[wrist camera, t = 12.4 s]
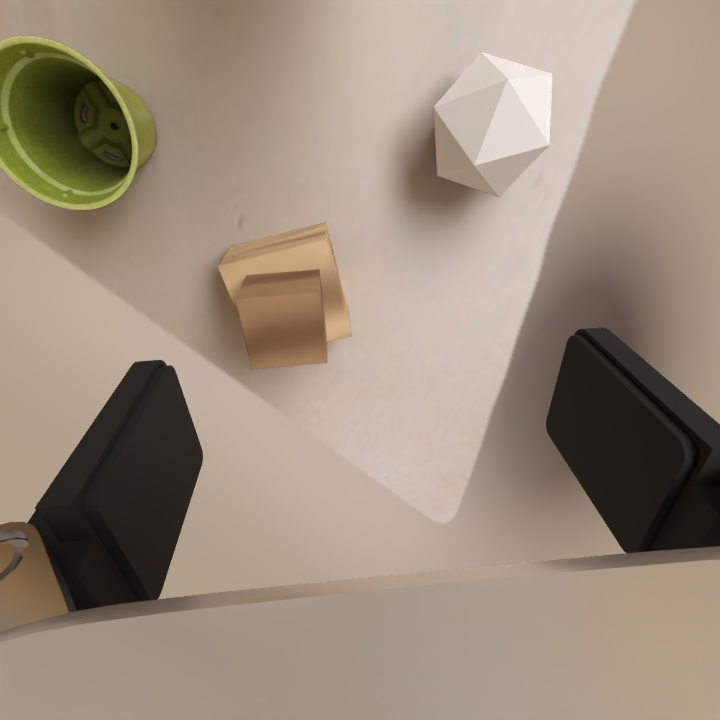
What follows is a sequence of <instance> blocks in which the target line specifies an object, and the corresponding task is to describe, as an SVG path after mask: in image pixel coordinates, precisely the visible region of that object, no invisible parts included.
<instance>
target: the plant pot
mask: <svg viewBox="0 0 720 720" xmlns="http://www.w3.org/2000/svg"><path fill="white" fill-rule="evenodd" d="M110 91H111V92H112V93H111V92H110ZM83 104H86V105H87V106H88V107H87V112H86V123H83V121H82V119H81V109H82V106H83ZM112 123H116V124H117V125H118V129H117V130H114V129H113V128H112V127H111V124H112ZM155 144H156V127H155V123H154V120H153V118H152V116H151V114H150V112H149V110H148V109H147V107H146V105H145V104H144V102H143V101H142V99H141V98H140V97H139V96H138V95H137V94H136V93H135V92H133V91H132V90H131V89H129V88H128V87H126V86H125V85H123V84H121V83H119V82H116V81H114V80H112V79H110V78H108V77H107V76H106V75H105V74H104V73H103V72H102V71H101V70H100V69H99V68H98V67H97V66H96V65H95V64H94V63H92V62H91V61H90V60H88V59H87V58H86V57H84V56H83V55H81V54H80V53H78V52H77V51H75V50H73V49H71V48H69V47H67V46H65V45H63V44H61V43H58V42H55V41H52V40H49V39H46V38H41V37H34V36H16V37H12V38H9V39H5V40H3V41H0V168H1V169H2V170H3V171H4V172H5V173H6V174H7V175H8V176H9V177H10V178H11V179H12V180H13V181H14V182H15V183H17V184H18V185H19V186H20V187H22V188H23V189H24V190H26V191H27V192H29V193H30V194H32V195H33V196H35V197H37V198H39V199H40V200H42V201H44V202H47V203H50V204H52V205H55V206H58V207H62V208H66V209H72V210H91V209H96V208H100V207H103V206H105V205H108V204H110V203H112V202H113V201H115V200H116V199H118V198H119V197H120V196H122V195H123V194H124V193H125V191H126V190H127V189H128V188H129V186H130V184H131V183H132V181H133V179H134V176H135V174H136V170H137V168H138V167H140V166H141V165H142V164H143V163H145V162H146V161H147V160H148V159H149V157H150V156H151V154H152V153H153V150H154V148H155ZM105 152H108V153H110V154H112V155H114V156H117V157H121V158H122V160H121V161H117V160H114V159H111V158H109V157H107V156H106V155H105Z"/></svg>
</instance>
